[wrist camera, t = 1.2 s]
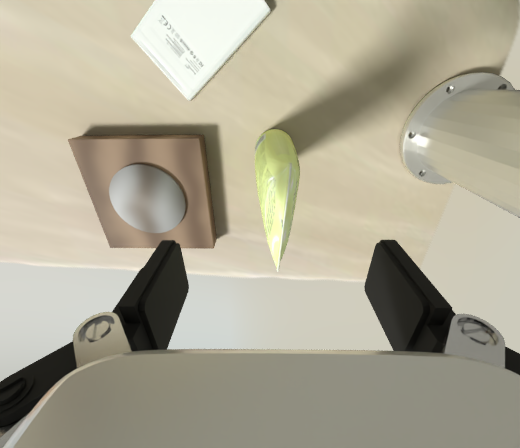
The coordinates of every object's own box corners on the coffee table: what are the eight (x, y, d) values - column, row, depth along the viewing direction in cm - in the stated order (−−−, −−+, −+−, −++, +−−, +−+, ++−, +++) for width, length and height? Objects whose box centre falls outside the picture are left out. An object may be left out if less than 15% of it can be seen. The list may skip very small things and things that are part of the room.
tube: (303, 155, 32) (343, 237, 15) (272, 178, 34) (277, 274, 17) (278, 119, 30) (291, 165, 13) (246, 145, 31) (221, 216, 15)
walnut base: (203, 134, 31) (197, 139, 28) (216, 239, 39) (212, 250, 36) (81, 135, 31) (64, 140, 29) (119, 238, 39) (108, 249, 37)
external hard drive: (270, 13, 25) (192, 100, 30) (213, -74, 22) (135, 37, 27) (270, 9, 24) (188, 101, 28) (210, -84, 21) (128, 35, 25)
